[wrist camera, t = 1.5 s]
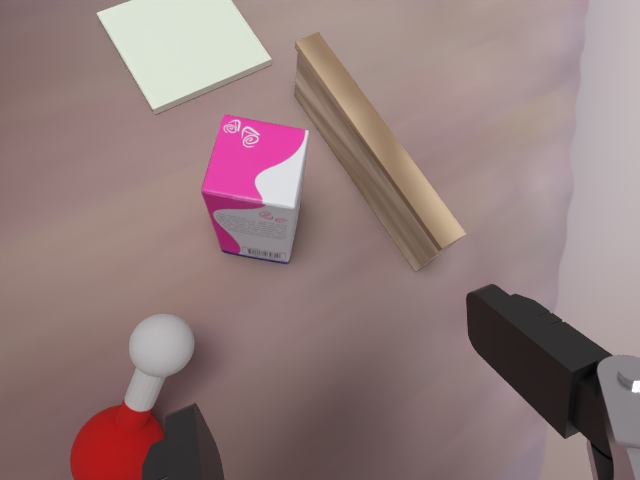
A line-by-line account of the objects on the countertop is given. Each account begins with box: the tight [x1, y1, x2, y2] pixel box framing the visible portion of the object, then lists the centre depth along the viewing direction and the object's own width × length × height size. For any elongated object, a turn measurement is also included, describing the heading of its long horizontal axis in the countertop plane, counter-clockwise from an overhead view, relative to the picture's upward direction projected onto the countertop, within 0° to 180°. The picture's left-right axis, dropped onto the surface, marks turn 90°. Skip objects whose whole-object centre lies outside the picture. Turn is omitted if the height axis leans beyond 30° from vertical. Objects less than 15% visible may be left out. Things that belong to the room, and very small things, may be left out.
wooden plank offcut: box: [294, 32, 466, 271], centre depth 37 cm, size 2×20×7 cm, turn 32°
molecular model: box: [70, 314, 195, 480], centre depth 27 cm, size 18×6×10 cm, turn 163°
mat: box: [97, 0, 271, 115], centre depth 42 cm, size 12×12×1 cm
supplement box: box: [201, 115, 309, 264], centre depth 32 cm, size 6×6×11 cm
